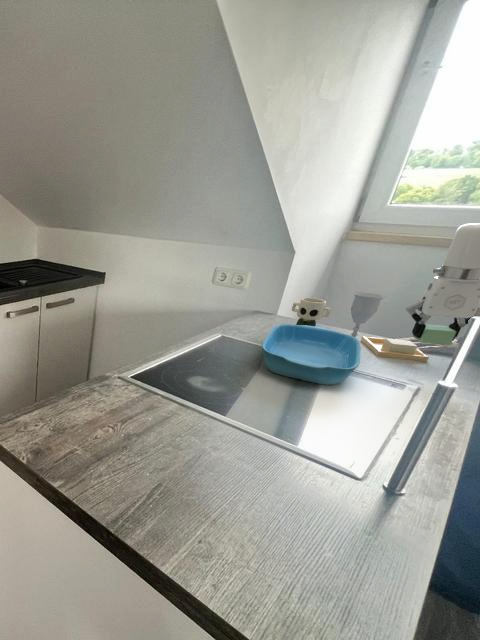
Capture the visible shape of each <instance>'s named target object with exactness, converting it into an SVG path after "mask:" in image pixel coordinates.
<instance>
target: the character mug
mask: <svg viewBox="0 0 480 640" xmlns="http://www.w3.org/2000/svg"><path fill="white" fill-rule="evenodd" d="M326 305H327V301H326V300H325V299H321V298H315V297H302V298H301V299H300V302H293V303H292V306H291V311H292V312H295V313H296V315H297V317H298V320H297V322H296V323H295V325H307V326H315V327H317V320H320V319H322V317H324V318H329V317H330V316H331V315H330V314H331V312H332V308H330V307H328V306H326ZM297 307H298V308H297ZM324 311H326V313H324Z"/></svg>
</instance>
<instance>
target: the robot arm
mask: <svg viewBox="0 0 480 640" xmlns="http://www.w3.org/2000/svg"><path fill="white" fill-rule="evenodd" d="M432 273H433V274H437V276H434V277H433V278H432V280H431V281H430V282H429V283H428V285H427V287H426V288H425V290H424V292H423V294H422V296H421V298H420V300H419V301H417V302H415V303H413V304H411V305H409V306H407V307H406V308H405V311H406V312H407V313H408V315H409V316H410V317H411V318H412V320H414V321H415V323H414V326H413V328H412V331H411V334H412V336H413V335H414V336H415V337H417V338H421V336H422V334H423V332H424V329H425V327H426V325H425V324H426V322H427V321H428V320H429V319H431V318H432V317H438V318H439V317H441V318H452V323H450V324H449V325H448V327H450V328H451V329H453V330H455V331H457V332H456V334H455V336H454V338H453V341H455V338H457V337H458V335H459V333H460V332H461V329H462V328H464V327H466V325H468V324H469V323H468V320H469V319H470V318H471V317H473V316H480V223H479V222H478V223H477V222H475V223H464V224H462V225H460V226H459V227H458V228H457V230H456V231H455V234H454V236H453V238H452V241H451V244H450V246H449V249H448V251H447V253H446V255H445V258H444V260H443V262H442V265H440V267H438V268H437V267H436V268H433V270H432ZM417 311H418V312H420V313H419V314H418V313H417ZM453 341H452V342H453Z"/></svg>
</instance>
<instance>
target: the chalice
mask: <svg viewBox="0 0 480 640" xmlns="http://www.w3.org/2000/svg"><path fill="white" fill-rule="evenodd" d="M353 294H354V295H353V296H354V299H353V302H352V304H351V307H350V315H351V319H352V323H353V322H354V323H355V326H354V327H353V328H352V330H353V331H352V333H350V336H353V337H355V338H357V336H358V332H359V331H360V326H361V325H364V324H366V322H368V321H369V320H370V319H371V318H372V317H374V315H375V314H376V313H377V311H378V310H379V307H380V304H381V301H382V300H383V299H384V298H385V295H383V294H379V293H374V292H364V291H363V292H361V291H360V292H354V293H353Z"/></svg>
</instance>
